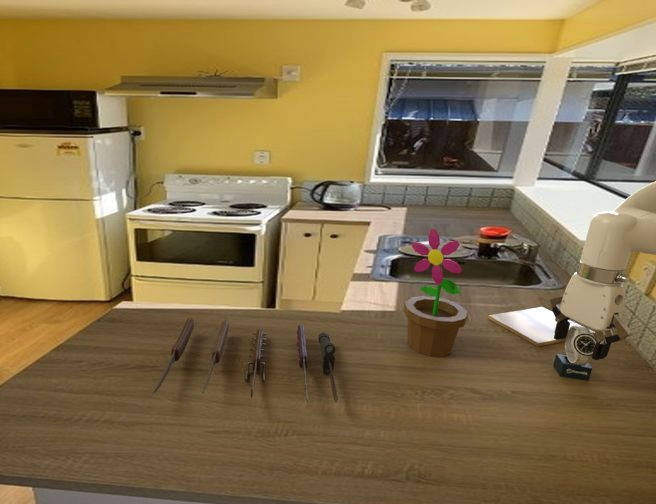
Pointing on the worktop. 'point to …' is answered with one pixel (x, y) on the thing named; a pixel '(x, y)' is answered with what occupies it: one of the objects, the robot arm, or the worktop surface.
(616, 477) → the worktop surface
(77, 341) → the worktop surface
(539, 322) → the board
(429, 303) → the flowerpot
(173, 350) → the knife set
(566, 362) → the watch
